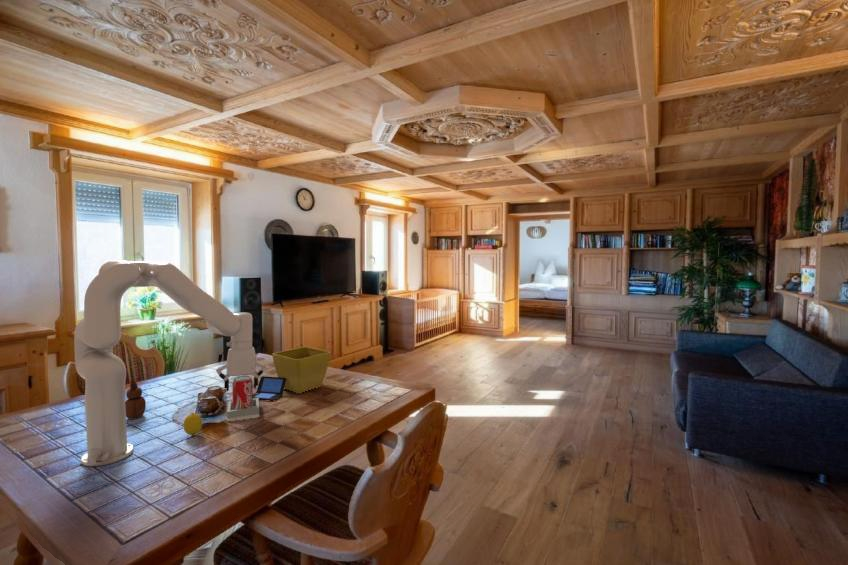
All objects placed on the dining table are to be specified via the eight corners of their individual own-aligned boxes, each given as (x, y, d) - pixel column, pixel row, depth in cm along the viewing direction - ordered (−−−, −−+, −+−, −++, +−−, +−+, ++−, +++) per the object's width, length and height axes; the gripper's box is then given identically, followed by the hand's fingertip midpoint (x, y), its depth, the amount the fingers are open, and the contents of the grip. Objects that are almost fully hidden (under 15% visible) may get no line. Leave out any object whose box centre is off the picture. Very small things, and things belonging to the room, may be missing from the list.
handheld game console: (246, 400, 171) (246, 383, 170) (261, 392, 181) (261, 375, 181) (273, 402, 169) (273, 385, 168) (287, 393, 179) (286, 377, 179)
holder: (259, 417, 152) (259, 408, 152) (227, 422, 148) (226, 412, 148) (258, 405, 164) (258, 397, 164) (228, 409, 160) (228, 400, 160)
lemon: (199, 430, 141) (199, 408, 140) (204, 435, 137) (204, 412, 136) (181, 435, 137) (181, 412, 136) (186, 441, 133) (185, 417, 132)
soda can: (229, 411, 156) (228, 378, 155) (248, 406, 161) (247, 374, 160) (237, 416, 151) (236, 382, 150) (256, 411, 156) (255, 378, 155)
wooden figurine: (133, 421, 148) (131, 381, 147) (120, 420, 149) (118, 380, 148) (149, 414, 154) (148, 376, 153) (137, 413, 156) (135, 375, 155)
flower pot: (305, 379, 200) (305, 345, 199) (331, 386, 189) (331, 351, 187) (271, 389, 184) (271, 353, 183) (297, 398, 173) (297, 359, 172)
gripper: (215, 348, 147) (215, 394, 148) (266, 345, 154) (265, 389, 155) (217, 344, 154) (217, 388, 155) (265, 341, 161) (265, 384, 162)
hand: (241, 388), depth 155 cm, fingers open, 9 cm apart
